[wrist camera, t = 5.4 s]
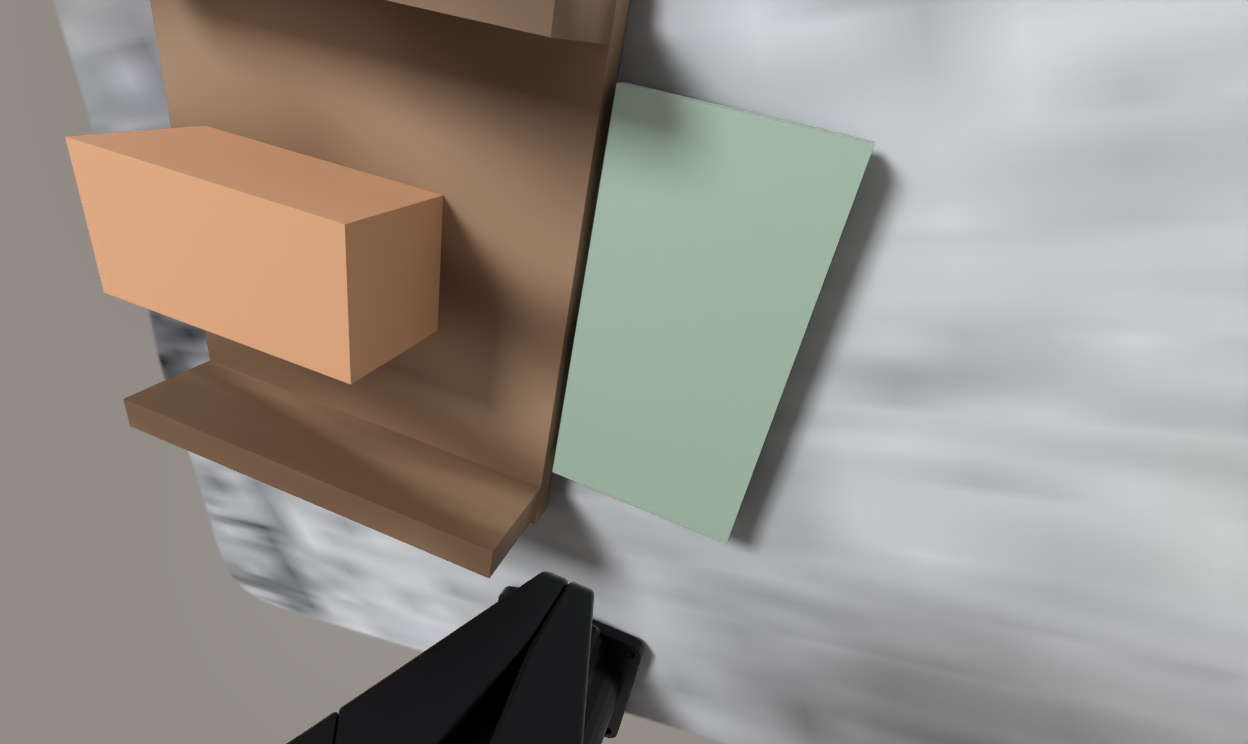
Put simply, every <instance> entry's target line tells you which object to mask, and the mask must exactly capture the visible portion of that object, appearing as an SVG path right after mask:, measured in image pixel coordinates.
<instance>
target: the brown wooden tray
mask: <svg viewBox="0 0 1248 744" xmlns="http://www.w3.org/2000/svg"><path fill="white" fill-rule="evenodd" d="M150 2H151V8H152V14H153V20H154V26H155V32H156V38H157V44H158V50H159V56H160V62H161V68H162V74H163V80H164V86H165V92H166V98H167V104H168V110H169V116H170V122H171V128H182V127H194V126H208V127H211V128H215V129H218V130H222V131H225V132H228V133H232V134H235V135H239V136H242V137H246V138H249V139H252V140H256V141H259V142H263V143H266V144H270V145H273V146H276V147H280V148H283V149H287V150H290V151H293V152H297V153H300V154H304V155H307V156H311V157H314V158H317V159H321V160H324V161H328V162H331V163H335V164H338V165H341V166H345V167H348V168H352V169H355V170H359V171H362V172H365V173H369V174H372V175H376V176H379V177H382V178H386V179H389V180H393V181H396V182H400V183H403V184H406V185H410V186H413V187H417V188H420V189H424V190H427V191H430V192H434V193H437V194H441V195H443V212H442V236H441V260H440V284H439V309H438V331H436V332H435V333H433V334H431V335H430V336H428V337H427V338H425V339H423V340H422V341H420V342H419V343H417V344H415V345H414V346H412V347H410V348H409V349H407V350H406V351H404V352H402V353H401V354H399V355H398V356H396V357H394V358H393V359H391V360H389V361H388V362H386V363H385V364H383V365H381V366H380V367H378V368H377V369H375V370H373V371H372V372H370V373H368V374H367V375H365V376H364V377H362V378H360V379H359V380H357V381H356V382H354V383H352V384H348V383H346V382H343V381H340V380H338V379H335V378H332V377H329V376H327V375H324V374H321V373H319V372H316V371H313V370H311V369H308V368H305V367H303V366H300V365H297V364H295V363H292V362H289V361H287V360H284V359H281V358H279V357H276V356H273V355H271V354H268V353H265V352H263V351H260V350H257V349H254V348H252V347H249V346H246V345H244V344H241V343H238V342H236V341H233V340H230V339H228V338H225V337H222V336H220V335H217V334H214V333H212V332H209V331H206V330H205V332H206V339H207V345H208V351H209V357H210V361H208V362H206V363H203V364H201V365H199V366H197V367H194V368H192V369H190V370H188V371H185V372H183V373H181V374H179V375H176V376H174V377H172V378H170V379H167V380H165V381H163V382H161V383H158V384H156V385H154V386H152V387H150V388H147V389H145V390H143V391H141V392H138V393H136V394H134V395H132V396H129V397H127V398H125V399H124V403H125V407H126V411H127V415H128V419H129V423H130V426H131V427H134V428H136V429H139V430H141V431H143V432H146V433H148V434H150V435H153V436H155V437H157V438H160V439H162V440H164V441H167V442H169V443H171V444H174V445H176V446H179V447H181V448H183V449H186V450H188V451H190V452H193V453H195V454H197V455H200V456H202V457H204V458H207V459H209V460H211V461H214V462H216V463H219V464H221V465H223V466H226V467H228V468H230V469H233V470H235V471H237V472H240V473H242V474H244V475H247V476H249V477H252V478H254V479H256V480H259V481H261V482H263V483H266V484H268V485H270V486H273V487H275V488H277V489H280V490H282V491H285V492H287V493H289V494H292V495H294V496H296V497H299V498H301V499H303V500H306V501H308V502H310V503H313V504H315V505H318V506H320V507H322V508H325V509H327V510H329V511H332V512H334V513H336V514H339V515H341V516H343V517H346V518H348V519H351V520H353V521H355V522H358V523H360V524H362V525H365V526H367V527H369V528H372V529H374V530H376V531H379V532H381V533H384V534H386V535H388V536H391V537H393V538H395V539H398V540H400V541H402V542H405V543H407V544H410V545H412V546H414V547H417V548H419V549H421V550H424V551H426V552H428V553H431V554H433V555H435V556H438V557H440V558H443V559H445V560H447V561H450V562H452V563H454V564H457V565H459V566H461V567H464V568H466V569H468V570H471V571H473V572H476V573H478V574H480V575H483V576H485V577H487V578H490V577H491V576H492V574H493V573H494V571H495V570H496V569H497V567H498V566H499V564H500V563H501V562H502V560H503V559H504V557H505V556H506V555H507V553H508V552H509V550H510V549H511V548H512V546H513V545H514V543H515V542H516V541H517V539H518V538H519V536H520V535H521V534H522V532H523V531H524V529H525V528H526V527H527V525H528V524H529V522H531V523H534V524H535V523H536V522H537V521H538V519H539V518H540V516H541V515H542V513H543V512H544V511H545V509H546V507H547V501H548V495H549V489H550V482H551V476H552V470H553V464H554V458H555V452H556V446H557V440H558V434H559V428H560V422H561V416H562V410H563V404H564V398H565V392H566V386H567V380H568V374H569V367H570V361H571V355H572V349H573V343H574V337H575V331H576V325H577V319H578V313H579V307H580V301H581V295H582V289H583V283H584V277H585V271H586V265H587V259H588V252H589V246H590V240H591V234H592V228H593V222H594V216H595V210H596V204H597V198H598V192H599V186H600V180H601V174H602V168H603V162H604V156H605V150H606V144H607V137H608V131H609V125H610V119H611V113H612V107H613V101H614V95H615V89H616V83H617V77H618V71H619V65H620V59H621V53H622V47H623V41H624V35H625V29H626V22H627V16H628V10H629V4H630V0H150Z"/></svg>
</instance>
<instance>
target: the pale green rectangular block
mask: <svg viewBox="0 0 1248 744" xmlns="http://www.w3.org/2000/svg"><path fill="white" fill-rule="evenodd" d="M874 145H875V142H874V141H869V140H865V139H861V138H857V137H853V136H849V135H844V134H840V133H836V132H832V131H828V130H824V129H819V128H815V127H811V126H807V125H803V124H798V123H794V122H790V121H786V120H782V119H778V118H773V117H769V116H765V115H761V114H757V113H753V112H748V111H744V110H740V109H736V108H732V107H727V106H723V105H719V104H715V103H711V102H707V101H702V100H698V99H694V98H690V97H686V96H682V95H677V94H673V93H669V92H665V91H661V90H656V89H652V88H648V87H644V86H640V85H636V84H631V83H617V84H616V90H615V96H614V102H613V108H612V114H611V120H610V127H609V133H608V139H607V145H606V151H605V157H604V163H603V169H602V175H601V181H600V187H599V193H598V199H597V205H596V211H595V217H594V223H593V229H592V235H591V241H590V247H589V254H588V260H587V266H586V272H585V278H584V284H583V290H582V296H581V302H580V308H579V314H578V320H577V326H576V332H575V338H574V344H573V350H572V356H571V362H570V368H569V374H568V381H567V387H566V393H565V399H564V405H563V411H562V417H561V423H560V429H559V435H558V441H557V447H556V453H555V459H554V465H553V471H552V472H553V473H556V474H558V475H560V476H563V477H565V478H568V479H570V480H573V481H575V482H577V483H580V484H582V485H585V486H587V487H590V488H592V489H594V490H597V491H599V492H602V493H604V494H607V495H609V496H611V497H614V498H616V499H619V500H621V501H623V502H626V503H628V504H631V505H633V506H636V507H638V508H640V509H643V510H645V511H648V512H650V513H653V514H655V515H657V516H660V517H662V518H665V519H667V520H670V521H672V522H674V523H677V524H679V525H682V526H684V527H686V528H689V529H691V530H694V531H696V532H699V533H701V534H703V535H706V536H708V537H711V538H713V539H716V540H718V541H720V542H723V543H725V544H727V541H728V538H729V535H730V533H731V530H732V527H733V525H734V522H735V519H736V517H737V514H738V511H739V509H740V506H741V503H742V500H743V498H744V495H745V492H746V490H747V487H748V484H749V482H750V479H751V476H752V474H753V471H754V468H755V465H756V463H757V460H758V457H759V455H760V452H761V449H762V447H763V444H764V441H765V438H766V436H767V433H768V430H769V428H770V425H771V422H772V420H773V417H774V414H775V412H776V409H777V406H778V403H779V401H780V398H781V395H782V393H783V390H784V387H785V385H786V382H787V379H788V377H789V374H790V371H791V368H792V366H793V363H794V360H795V358H796V355H797V352H798V350H799V347H800V344H801V341H802V339H803V336H804V333H805V331H806V328H807V325H808V323H809V320H810V317H811V315H812V312H813V309H814V306H815V304H816V301H817V298H818V296H819V293H820V290H821V288H822V285H823V282H824V280H825V277H826V274H827V271H828V269H829V266H830V263H831V261H832V258H833V255H834V253H835V250H836V247H837V245H838V242H839V239H840V236H841V234H842V231H843V228H844V226H845V223H846V220H847V218H848V215H849V212H850V209H851V207H852V204H853V201H854V199H855V196H856V193H857V191H858V188H859V185H860V183H861V180H862V177H863V174H864V172H865V169H866V166H867V164H868V161H869V158H870V156H871V153H872V150H873V148H874Z"/></svg>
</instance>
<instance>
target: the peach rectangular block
mask: <svg viewBox="0 0 1248 744" xmlns="http://www.w3.org/2000/svg"><path fill="white" fill-rule="evenodd" d="M66 141H67V145H68V149H69V153H70V157H71V162H72V166H73V169H74V174H75V177H76V181H77V185H78V189H79V193H80V198H81V201H82V206H83V210H84V214H85V217H86V222H87V225H88V229H89V234H90V238H91V242H92V246H93V250H94V254H95V258H96V262H97V266H98V270H99V274H100V278H101V282H102V286H103V290H104V292H105V293H107V294H110V295H113V296H115V297H118V298H121V299H123V300H126V301H129V302H131V303H134V304H137V305H139V306H142V307H145V308H147V309H150V310H153V311H155V312H158V313H161V314H163V315H166V316H169V317H171V318H174V319H177V320H179V321H182V322H185V323H188V324H190V325H193V326H196V327H198V328H201V329H204V330H206V331H209V332H212V333H214V334H217V335H220V336H222V337H225V338H228V339H230V340H233V341H236V342H238V343H241V344H244V345H246V346H249V347H252V348H254V349H257V350H260V351H263V352H265V353H268V354H271V355H273V356H276V357H279V358H281V359H284V360H287V361H289V362H292V363H295V364H297V365H300V366H303V367H305V368H308V369H311V370H313V371H316V372H319V373H321V374H324V375H327V376H329V377H332V378H335V379H338V380H340V381H343V382H346V383H348V384H352V383H354V382H356V381H357V380H359V379H360V378H362V377H364V376H365V375H367V374H368V373H370V372H372V371H373V370H375V369H377V368H378V367H380V366H381V365H383V364H385V363H386V362H388V361H389V360H391V359H393V358H394V357H396V356H398V355H399V354H401V353H402V352H404V351H406V350H407V349H409V348H410V347H412V346H414V345H415V344H417V343H419V342H420V341H422V340H423V339H425V338H427V337H428V336H430V335H431V334H433V333H435V332H436V331H438V309H439V284H440V260H441V236H442V212H443V195H441V194H437V193H434V192H430V191H427V190H424V189H420V188H417V187H413V186H410V185H406V184H403V183H400V182H396V181H393V180H389V179H386V178H382V177H379V176H376V175H372V174H369V173H365V172H362V171H359V170H355V169H352V168H348V167H345V166H341V165H338V164H335V163H331V162H328V161H324V160H321V159H317V158H314V157H311V156H307V155H304V154H300V153H297V152H293V151H290V150H287V149H283V148H280V147H276V146H273V145H270V144H266V143H263V142H259V141H256V140H252V139H249V138H246V137H242V136H239V135H235V134H232V133H228V132H225V131H222V130H218V129H215V128H211V127H208V126H194V127H182V128H169V129H156V130H143V131H130V132H117V133H105V134H92V135H80V136H66Z"/></svg>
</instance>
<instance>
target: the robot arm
mask: <svg viewBox="0 0 1248 744" xmlns="http://www.w3.org/2000/svg"><path fill="white" fill-rule="evenodd" d="M593 604H594V592H593V591H592V590H591V589H589V588H586V587H584V586H582V585H579V584H577V583H574V582H571V583H569V584H568V581H567V580H566V579H565V578H562V577H560V576H557V575H555V574H553V573H550V572H547V571H546V572H542V573H540V574H538V575H537V576H535V577H534V578H532V579H531V580H529V581H528V582H526V583H525V584H524V585H522V586H521V587H519V588H518V589H517V588H515V587H511V586H508V587H506V588H504V590H503V591H502V593H501V594H500V596H499V600H498V602H497V603H495V604H494V605H492V606H491V607H489V608H488V609H486V610H485V611H484V612H482V613H481V614H479V615H478V616H476V617H475V618H473V619H472V620H470V621H469V622H467V623H466V624H464V625H463V626H461V627H460V628H458V629H457V630H455V631H454V632H452V633H451V634H449V635H448V636H446V637H445V638H443V639H442V640H441V641H439V642H438V643H436V644H435V645H433V646H432V647H430V648H429V649H427V650H426V651H424V652H423V653H421V654H420V655H418V656H417V657H415V658H414V659H412V660H411V661H409V662H408V663H406V664H405V665H404V666H402V667H401V668H399V669H398V670H396V671H395V672H393V673H392V674H390V675H389V676H387V677H386V678H385V679H383V680H381V681H380V682H378V683H377V684H376V685H374V686H372V687H371V688H369V689H368V690H366V691H365V692H364V693H362V694H360V695H359V696H358V697H356V698H355V699H353V700H352V701H350V702H349V703H347V704H346V705H344V706H343V707H341V708H340V710H339V714H338V713H337V712H334V713H332V714H330V715H329V716H327V717H326V718H324V719H323V720H322V721H320V722H319V723H317V724H316V725H314V726H313V727H311V728H310V729H308V730H307V731H305V732H304V733H302V734H301V735H299V736H298V737H296V738H295V739H293V740H291V741H290V742H288V743H287V744H601V743H602V740H603V738H604V737H608V738H613V737H615V736H616V735H617V733H618V730H619V727H620V724H621V721H622V717H623V714H624V711H625V708H626V705H627V702H628V698H629V695H630V692H631V689H632V686H633V683H634V680H635V676H636V673H637V670H638V667H639V664H640V661H641V657H642V654H643V651H644V647H643V645H642V643H641V642H640V641H639V640H637V639H635V638H633V637H631V636H628V635H626V634H624V633H621V632H619V631H617V630H614V629H612V628H609V627H607V626H605V625H602V624H600V623H598V622H595V621H593V620H592V617H593Z"/></svg>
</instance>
